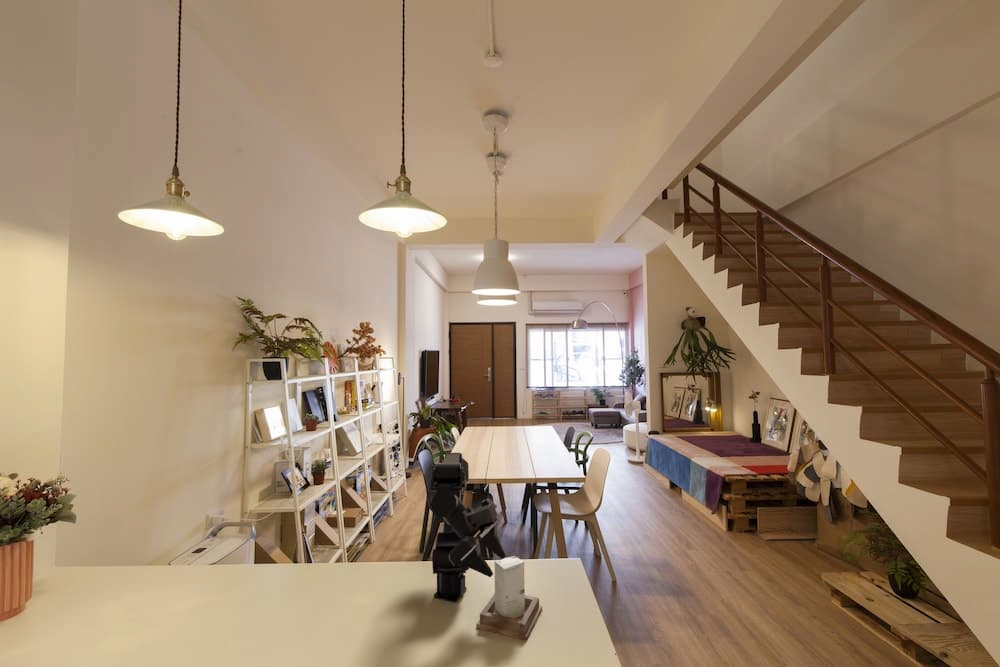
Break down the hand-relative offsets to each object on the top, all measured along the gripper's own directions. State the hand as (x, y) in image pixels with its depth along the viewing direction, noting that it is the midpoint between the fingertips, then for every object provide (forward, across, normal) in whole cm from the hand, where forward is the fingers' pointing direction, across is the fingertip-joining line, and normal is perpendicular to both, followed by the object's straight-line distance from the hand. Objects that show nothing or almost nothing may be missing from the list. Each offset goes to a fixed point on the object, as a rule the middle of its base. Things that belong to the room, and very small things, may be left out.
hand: (498, 566), depth 103 cm
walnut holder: (+10, +1, +7) cm, 12 cm away
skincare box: (+10, +1, +6) cm, 12 cm away
